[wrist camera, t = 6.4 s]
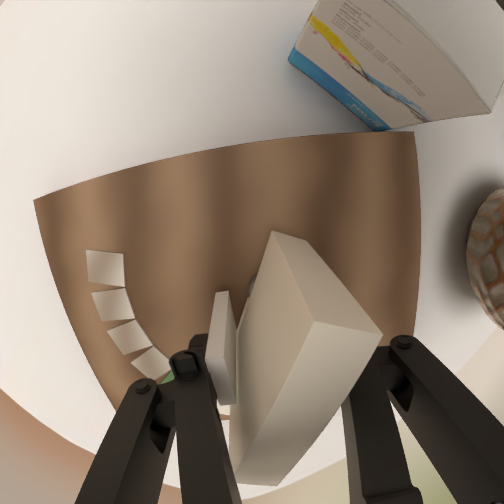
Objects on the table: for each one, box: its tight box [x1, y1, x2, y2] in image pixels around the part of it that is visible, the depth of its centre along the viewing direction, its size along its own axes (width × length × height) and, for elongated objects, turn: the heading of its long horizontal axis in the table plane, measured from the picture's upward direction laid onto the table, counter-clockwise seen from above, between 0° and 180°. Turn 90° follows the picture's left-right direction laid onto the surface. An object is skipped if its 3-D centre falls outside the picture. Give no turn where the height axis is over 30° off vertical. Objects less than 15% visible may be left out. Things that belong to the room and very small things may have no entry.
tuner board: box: [33, 132, 421, 420], centre depth 20 cm, size 28×22×2 cm
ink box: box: [288, 0, 504, 132], centre depth 11 cm, size 8×8×12 cm
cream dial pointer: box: [217, 231, 383, 486], centre depth 14 cm, size 16×2×12 cm, turn 163°
